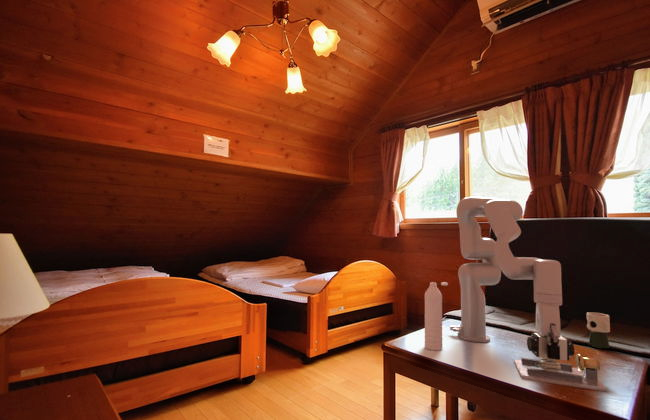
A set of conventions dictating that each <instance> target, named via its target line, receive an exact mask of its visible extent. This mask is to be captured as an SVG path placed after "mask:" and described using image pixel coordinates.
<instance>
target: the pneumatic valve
mask: <svg viewBox="0 0 650 420" xmlns="http://www.w3.org/2000/svg"><path fill="white" fill-rule="evenodd" d="M549 335H550V334H549ZM558 339H559V344H560V361H568V362H569V361H570V359H571V357H574V356H575V346H574V344H573V342H572V341H571V340H569V339H568V338H567V337H565V336H563V335H560V337H559V338H558ZM550 341H551V338H550ZM547 344H548V341H547V336H544V337H543V336H542V335H541V334H540V333H539V332H531V335H530V336H527V339H526V346H527V349H528V351H529V352H531V353H532V354H533V355H534V356H535V357H536V358H541V359H540V360H542V361H540V362H539V365H540V368H541V369H544V370H548V371H555V372H558V371H560V370H561V366H560V364H559V363H560V362H559V363H557V362H558V360H556V359H549V358H548V357H547Z"/></svg>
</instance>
